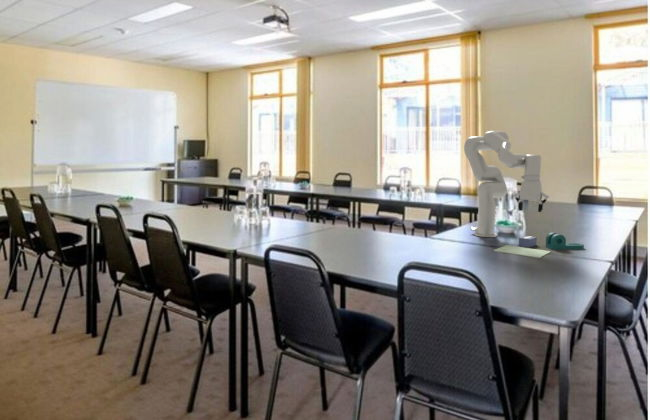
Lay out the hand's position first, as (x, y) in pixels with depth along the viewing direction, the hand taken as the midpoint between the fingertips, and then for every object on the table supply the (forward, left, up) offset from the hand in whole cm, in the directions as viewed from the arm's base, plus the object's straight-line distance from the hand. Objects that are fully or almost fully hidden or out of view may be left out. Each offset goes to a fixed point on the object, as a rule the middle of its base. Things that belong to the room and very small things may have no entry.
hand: (530, 211), depth 246 cm
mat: (+3, -18, -19) cm, 26 cm away
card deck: (0, 0, -19) cm, 19 cm away
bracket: (+17, +7, -19) cm, 26 cm away
